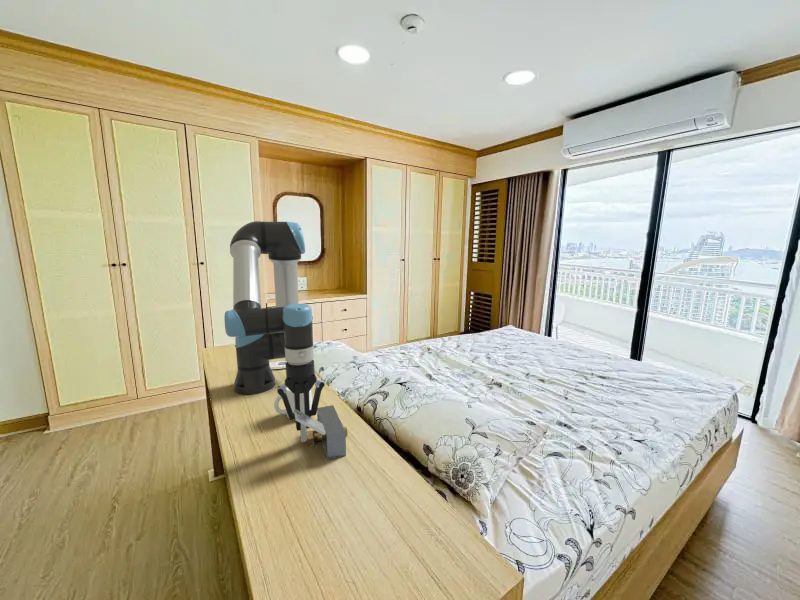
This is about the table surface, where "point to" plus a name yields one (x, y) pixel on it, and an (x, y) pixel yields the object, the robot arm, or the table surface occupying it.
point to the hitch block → (332, 432)
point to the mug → (292, 402)
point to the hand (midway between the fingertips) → (303, 438)
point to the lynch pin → (316, 437)
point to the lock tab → (309, 422)
